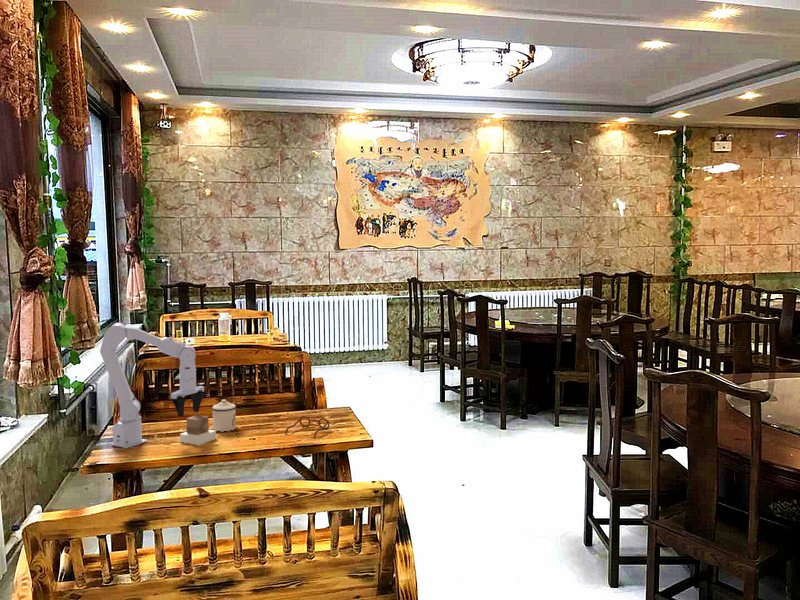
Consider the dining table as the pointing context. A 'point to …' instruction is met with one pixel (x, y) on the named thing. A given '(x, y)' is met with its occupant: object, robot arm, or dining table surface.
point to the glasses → (309, 424)
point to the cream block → (198, 437)
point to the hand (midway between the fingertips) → (188, 414)
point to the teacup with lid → (224, 416)
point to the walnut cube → (197, 424)
